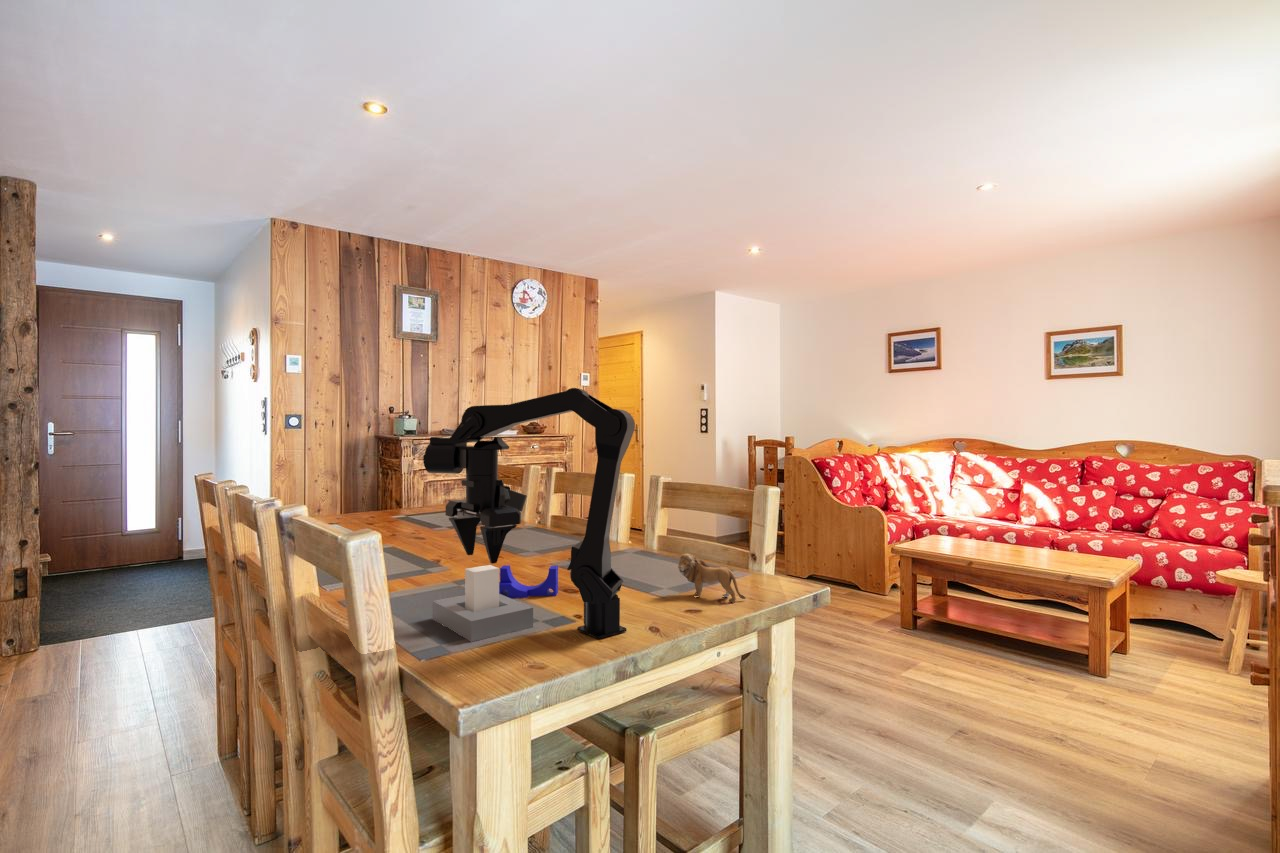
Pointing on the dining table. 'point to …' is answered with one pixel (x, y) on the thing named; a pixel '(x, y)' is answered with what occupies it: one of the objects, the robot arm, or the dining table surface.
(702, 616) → the dining table surface
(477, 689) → the dining table surface
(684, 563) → the lion figurine
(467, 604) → the plug
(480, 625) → the socket block
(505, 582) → the blue pipe saddle bracket
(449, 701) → the dining table surface
